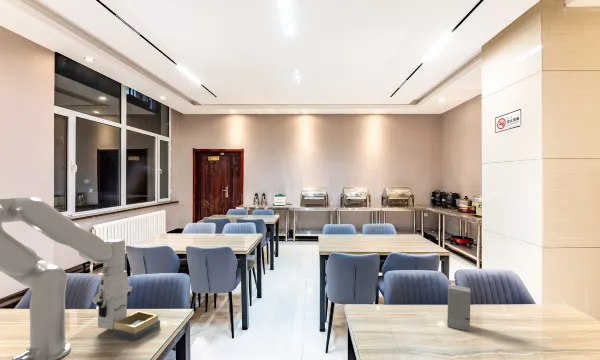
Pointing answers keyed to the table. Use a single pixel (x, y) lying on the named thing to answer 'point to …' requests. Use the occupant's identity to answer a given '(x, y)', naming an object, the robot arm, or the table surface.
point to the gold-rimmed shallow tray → (136, 325)
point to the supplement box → (113, 311)
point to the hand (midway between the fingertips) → (112, 312)
